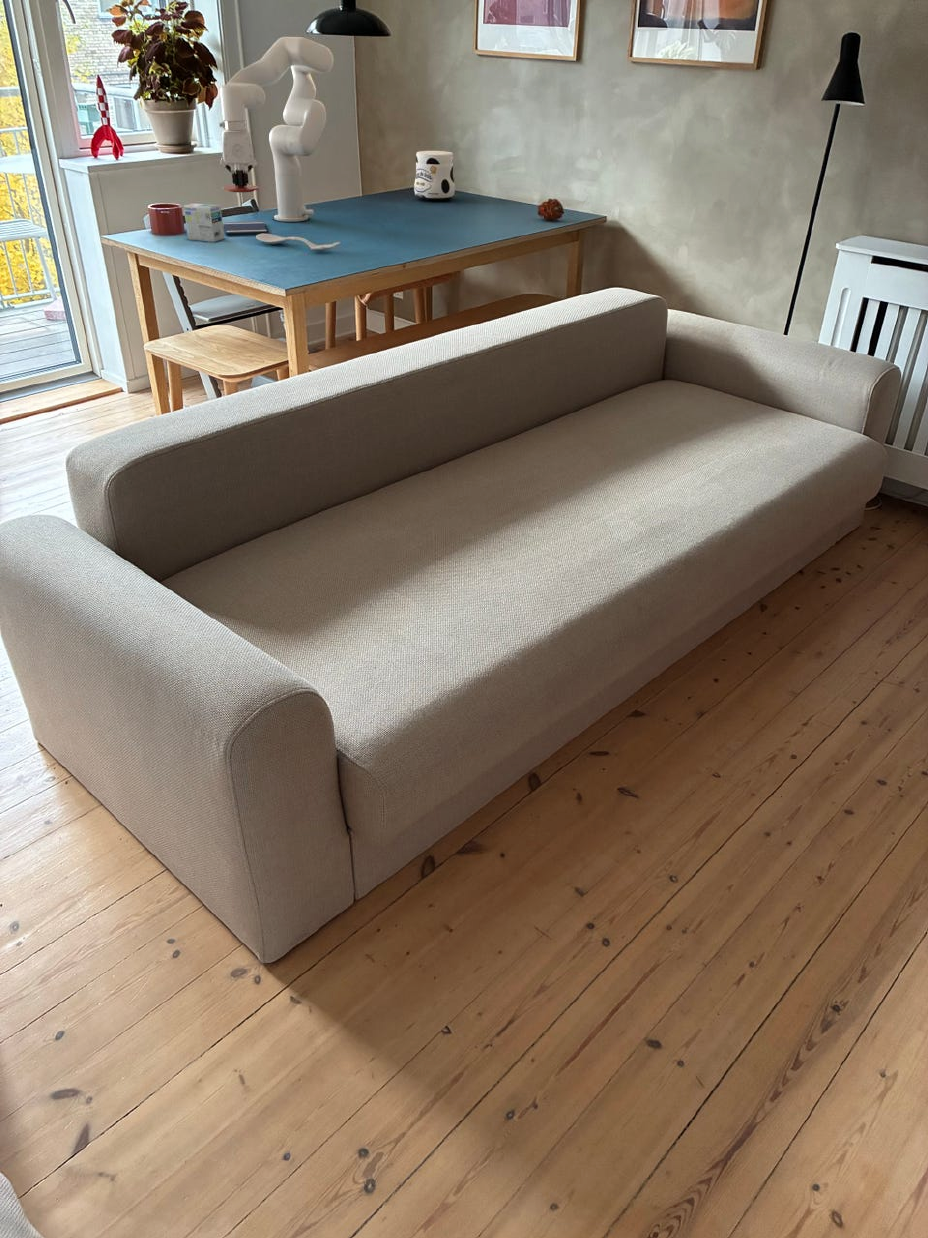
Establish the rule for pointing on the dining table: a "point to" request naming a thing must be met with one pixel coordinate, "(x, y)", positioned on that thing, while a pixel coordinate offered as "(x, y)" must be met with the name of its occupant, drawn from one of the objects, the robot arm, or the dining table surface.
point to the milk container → (434, 175)
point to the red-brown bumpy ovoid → (551, 210)
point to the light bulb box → (204, 222)
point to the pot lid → (240, 184)
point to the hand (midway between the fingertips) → (240, 185)
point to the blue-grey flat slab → (245, 228)
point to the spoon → (277, 240)
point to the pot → (166, 219)
